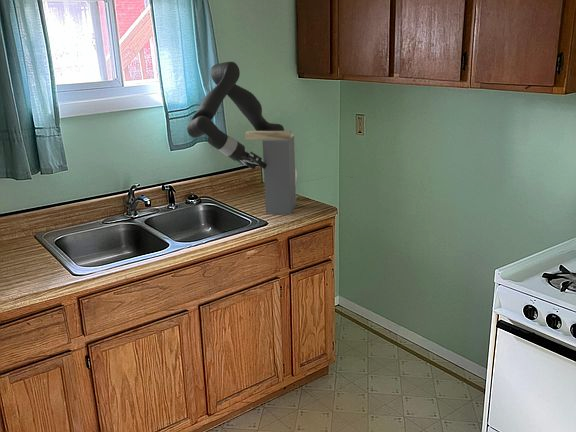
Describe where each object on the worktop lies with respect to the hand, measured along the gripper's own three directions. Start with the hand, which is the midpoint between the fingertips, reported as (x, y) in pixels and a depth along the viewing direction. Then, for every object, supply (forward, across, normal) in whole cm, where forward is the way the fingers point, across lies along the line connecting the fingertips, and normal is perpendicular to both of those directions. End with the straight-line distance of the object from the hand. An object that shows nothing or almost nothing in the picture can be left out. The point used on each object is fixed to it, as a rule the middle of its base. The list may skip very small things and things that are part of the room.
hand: (260, 167), depth 252 cm
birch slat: (-4, -3, -12) cm, 12 cm away
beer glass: (+28, +11, +2) cm, 30 cm away
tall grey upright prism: (+20, +2, +10) cm, 22 cm away
